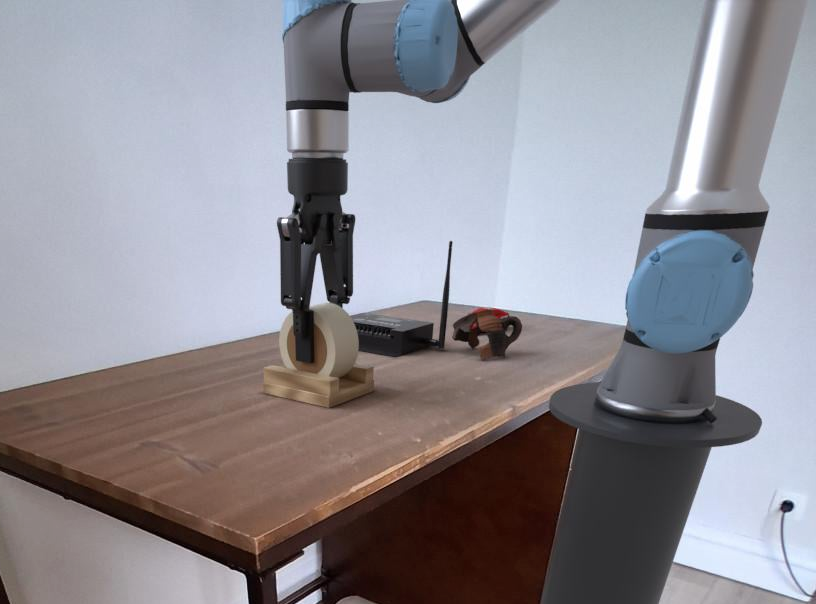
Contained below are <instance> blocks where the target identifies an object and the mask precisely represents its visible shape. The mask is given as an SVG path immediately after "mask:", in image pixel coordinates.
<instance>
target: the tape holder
mask: <svg viewBox="0 0 816 604" xmlns="http://www.w3.org/2000/svg"><path fill="white" fill-rule="evenodd" d="M374 369H375V368H374V365H368V364H363V363H358V362H355V364H354V366H353V367H352V369H351V370H350V371H349V372H348V373H347V374H346V375H344V376H342V377H339V378H335V377H330V376H325V375H320V374H315V373H310V372H305V371H300V370H295V369H290V368H286V366H285V367H284V366H279V365H274V364H272V365H268V366H265V367H263V382H262V387H263V388H262V391H263V392H262V393H263V394H265V395H270V396H275V397H278V398H283V399H288V400H292V401H296V402H301V403H306V404H310V405H315V406H318V407H323V408H327V409H330V408H332V407H336V406H337V405H338V406H339V405H340V404H343V403H346V402H349V401H351V400H353V399H356V398H358V397H362V396H364V395H366V394H369V393H372V392H374V391H375V380H374V373H375V372H374V371H375V370H374Z"/></svg>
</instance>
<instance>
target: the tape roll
mask: <svg viewBox="0 0 816 604" xmlns="http://www.w3.org/2000/svg"><path fill="white" fill-rule="evenodd" d="M309 310H311V311H314V363H306V362H301V361H296V350H295V336H294V333H293V311H292V310H291V311H290V312H289V313H288V315H286V316H285V318H284V320H283V322H282V324H281V327H280V330H279V338H278V339H279V341H278V345H279V352H280V356H281V360H282V362H283V365H284V366H285V368H290V369H295V370H300V371H305V372H310V373H315V374H320V375H325V376H330V377H335V378H339V377H342V376H344V375H346V374H347V373H348V372H349V371H350V370H351V369H352V367H353V366H354V364H355V363H357V359H358V355H359V351H358V349H359V340H358V334H357V330H356V327H355V324H354V322H353V320H352V319H351V317H350V316H351V315H350V314H349V313H348V311H346V310H345V309H344V307H343V308H341V307H340V306H338V305H336V304H333V303H330V302H323V303H317V304H313V305H310V307H309Z"/></svg>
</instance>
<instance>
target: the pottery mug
mask: <svg viewBox="0 0 816 604" xmlns="http://www.w3.org/2000/svg"><path fill="white" fill-rule="evenodd" d="M470 313H471V314H469V315H468V314H466V315H464V316H462V317H461V318H459V319H458V320H456V321H455V322H454V323H453V324H452V327H453V330H454V331H453V334H452V339H453V340H454V341H455V342H457V341H459V342H463V343H467V344H468V346H469V347H470V348H471V349H472V350H473V349H475V348H477V347H478V346H479V345H480V339H479V335H477V333H478V332H479V331H481V330H482V331H484V333H486V336H487V339H488V343H486V344H483V345H481V346H479V347H478V353H479V356H480V357H479V358H480V360H481V361H484V360H487V359H488V360H489V359H491V358H496V357H498V358H500V357H502V358H505V357H506V351H507V349H508V348H509V346H510V345H511V344H512V343H514V342H517V340H518V338H519V337H520V336H521V334H522V331H523V323H521V322H522V321H521V320H520V318H519V317H517V316H516V315H515V316H514V315H509V317H506V318H503V319H499V318H497V317H496V316H494V311H493V310H492V309H486V310H481V311H478V312H474V313H472V312H470ZM475 322H476V327H475V328H472V329H471V327H472V326H473V324H474V323H475ZM510 326H512V332H511V334H510V335H507V329H508V328H509V327H510Z"/></svg>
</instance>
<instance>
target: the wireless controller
mask: <svg viewBox="0 0 816 604" xmlns="http://www.w3.org/2000/svg"><path fill="white" fill-rule="evenodd" d="M452 251H453V240H449V241H448V251H447V262H446V271H445V278H444V284H443V291H442V299H441V311H440V321H439V322H440V323H439V331H438V339H435V338H434V337H433V336H434V325H435V323H434V322H432V321H431V322H430V321H422V320H418V319H409V318H403V317H395V316H387V315H383V314H382V315H381V314H375V313H374V314H373V313H367V312H361V313H357V314H351V315H349V316H350V317H351V319H352V320H353V322H354V324H355V327H356V330H357V334H358V340H359V349H358V352H359V351H360V352H366V353H370V354H376V355H380V356H381V355H382V356H386V357H392V358H394V357H395V358H396V357H399V356H403V355H406V354H409V353H412V352H416V351H418V350H421V349H424V348H425V349H426V348H428V347H437V348H438V349H440V350H442V349H444V350H445V343H446V334H447V333H446V332H447V322H448V312H449V302H450V288H451V287H450V284H451V283H450V281H451V263H452V255H453V252H452Z"/></svg>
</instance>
